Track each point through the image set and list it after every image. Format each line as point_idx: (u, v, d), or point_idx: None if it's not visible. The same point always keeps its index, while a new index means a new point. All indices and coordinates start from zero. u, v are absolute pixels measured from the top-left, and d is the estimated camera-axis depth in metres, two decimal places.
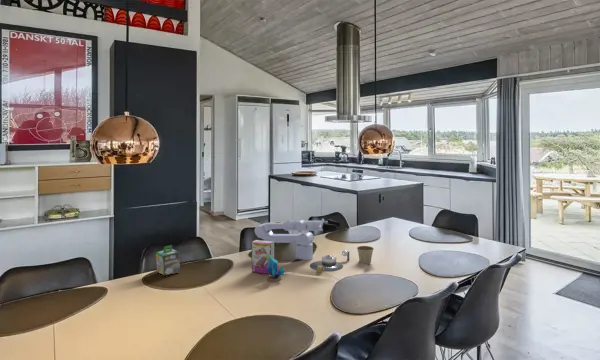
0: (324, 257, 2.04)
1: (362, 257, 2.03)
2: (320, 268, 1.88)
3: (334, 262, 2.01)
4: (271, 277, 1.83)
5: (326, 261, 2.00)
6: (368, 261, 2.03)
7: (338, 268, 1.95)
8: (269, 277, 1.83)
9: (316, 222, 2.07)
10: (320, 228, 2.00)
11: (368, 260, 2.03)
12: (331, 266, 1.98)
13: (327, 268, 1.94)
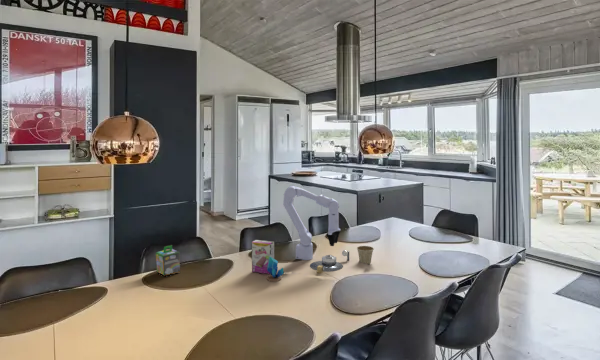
0: (324, 257, 2.04)
1: (362, 257, 2.03)
2: (320, 268, 1.88)
3: (334, 262, 2.01)
4: (271, 277, 1.83)
5: (326, 261, 2.00)
6: (368, 261, 2.03)
7: (338, 268, 1.95)
8: (269, 277, 1.83)
9: (336, 224, 2.07)
10: (329, 233, 2.03)
11: (368, 260, 2.03)
12: (331, 266, 1.98)
13: (327, 268, 1.94)
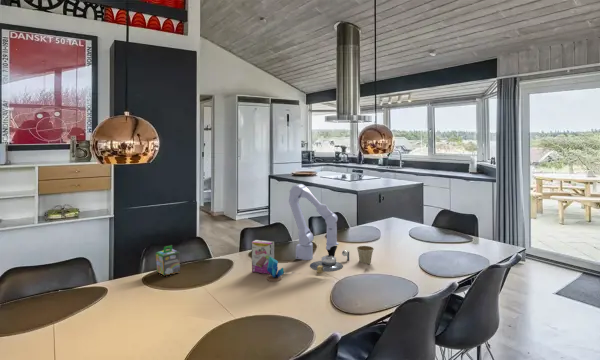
0: (324, 257, 2.04)
1: (362, 257, 2.03)
2: (320, 268, 1.88)
3: (334, 262, 2.00)
4: (271, 277, 1.83)
5: (326, 262, 2.00)
6: (368, 261, 2.03)
7: (338, 268, 1.95)
8: (269, 277, 1.83)
9: (334, 238, 2.04)
10: (327, 248, 2.01)
11: (368, 260, 2.03)
12: (331, 266, 1.98)
13: (327, 268, 1.94)
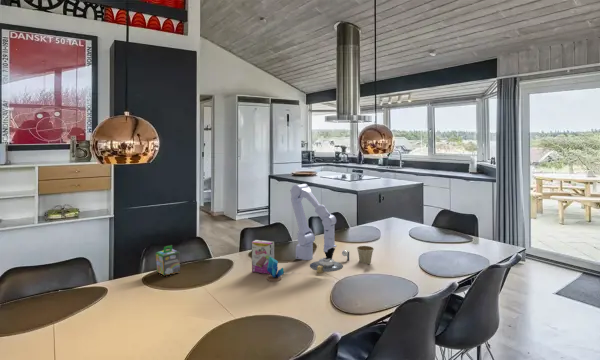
0: (321, 260, 1.99)
1: (362, 257, 2.03)
2: (320, 268, 1.88)
3: (332, 265, 1.96)
4: (271, 277, 1.83)
5: (323, 264, 1.95)
6: (368, 261, 2.03)
7: (338, 268, 1.95)
8: (269, 277, 1.83)
9: (332, 240, 2.00)
10: (325, 250, 1.96)
11: (368, 260, 2.03)
12: None
13: (327, 268, 1.94)
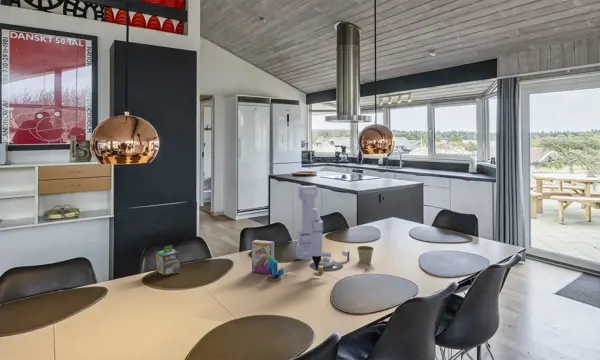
0: (321, 260, 1.99)
1: (362, 257, 2.03)
2: (321, 268, 1.88)
3: (332, 265, 1.96)
4: (271, 277, 1.83)
5: (324, 264, 1.95)
6: (368, 261, 2.03)
7: (338, 268, 1.95)
8: (269, 277, 1.83)
9: (313, 248, 1.86)
10: (302, 255, 1.89)
11: (368, 260, 2.03)
12: None
13: (327, 268, 1.94)
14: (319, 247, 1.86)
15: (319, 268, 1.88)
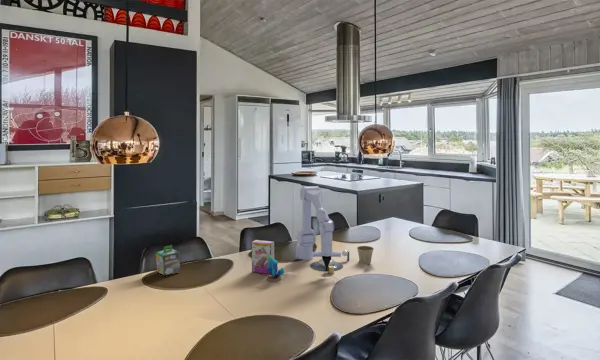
0: (322, 260, 1.98)
1: (362, 257, 2.03)
2: (332, 268, 1.87)
3: (333, 264, 1.98)
4: (271, 277, 1.83)
5: None
6: (368, 261, 2.03)
7: (340, 266, 1.98)
8: (269, 277, 1.83)
9: (323, 248, 1.86)
10: (312, 255, 1.89)
11: (368, 260, 2.03)
12: None
13: None
14: (329, 247, 1.85)
15: (330, 268, 1.87)
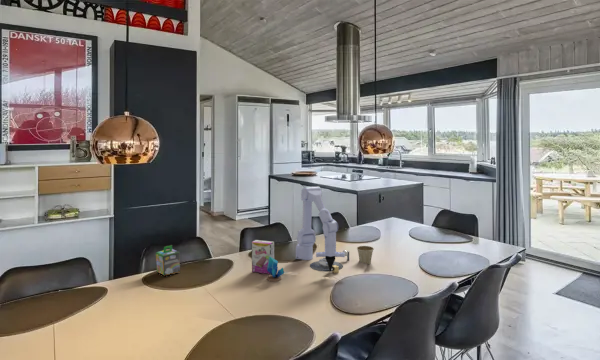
0: (322, 261, 1.97)
1: (362, 257, 2.03)
2: (337, 268, 1.88)
3: (333, 263, 1.99)
4: (271, 277, 1.83)
5: None
6: (368, 261, 2.03)
7: (340, 265, 2.00)
8: (269, 277, 1.83)
9: (327, 248, 1.86)
10: (316, 255, 1.89)
11: (368, 260, 2.03)
12: None
13: None
14: (333, 247, 1.86)
15: (335, 268, 1.88)
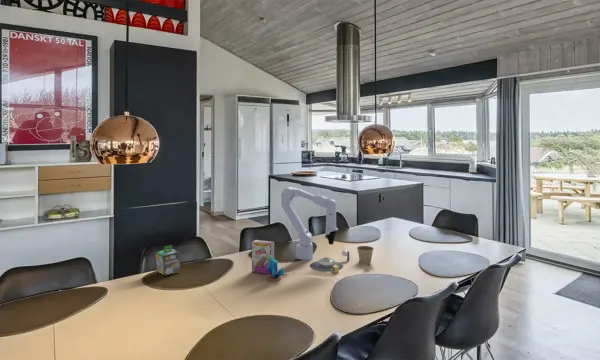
0: (322, 261, 1.97)
1: (362, 257, 2.03)
2: (337, 268, 1.88)
3: (333, 263, 1.99)
4: (271, 277, 1.83)
5: (329, 264, 1.95)
6: (368, 261, 2.03)
7: (340, 265, 2.00)
8: (269, 277, 1.83)
9: (333, 224, 2.06)
10: (327, 233, 2.02)
11: (368, 260, 2.03)
12: None
13: None
14: None
15: (335, 268, 1.88)
